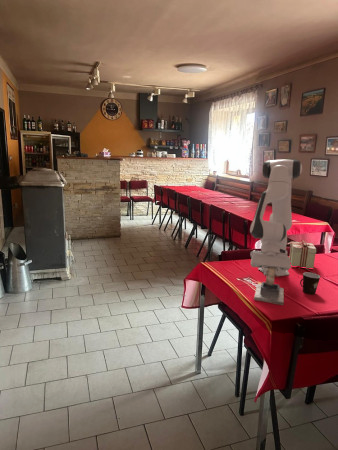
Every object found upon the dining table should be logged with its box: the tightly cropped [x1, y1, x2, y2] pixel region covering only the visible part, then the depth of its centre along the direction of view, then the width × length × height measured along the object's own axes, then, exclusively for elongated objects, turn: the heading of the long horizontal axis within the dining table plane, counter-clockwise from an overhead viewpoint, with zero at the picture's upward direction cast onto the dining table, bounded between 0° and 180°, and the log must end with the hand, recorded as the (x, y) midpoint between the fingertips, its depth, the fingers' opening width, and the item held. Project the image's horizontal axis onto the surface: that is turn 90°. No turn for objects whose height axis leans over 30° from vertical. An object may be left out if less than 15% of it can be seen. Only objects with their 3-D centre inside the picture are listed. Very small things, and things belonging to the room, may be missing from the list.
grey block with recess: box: [253, 281, 285, 306], centre depth 175 cm, size 20×14×5 cm
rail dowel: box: [265, 267, 276, 285], centre depth 173 cm, size 4×4×8 cm
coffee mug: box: [299, 272, 321, 296], centre depth 182 cm, size 12×9×10 cm
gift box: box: [286, 239, 317, 269], centre depth 228 cm, size 17×18×17 cm
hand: (271, 275), depth 173 cm, fingers closed on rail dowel, 4 cm apart
